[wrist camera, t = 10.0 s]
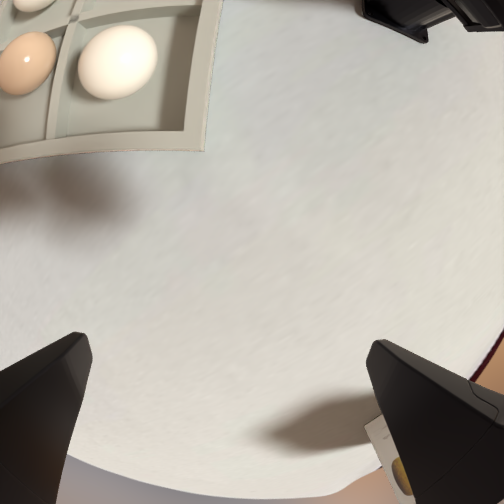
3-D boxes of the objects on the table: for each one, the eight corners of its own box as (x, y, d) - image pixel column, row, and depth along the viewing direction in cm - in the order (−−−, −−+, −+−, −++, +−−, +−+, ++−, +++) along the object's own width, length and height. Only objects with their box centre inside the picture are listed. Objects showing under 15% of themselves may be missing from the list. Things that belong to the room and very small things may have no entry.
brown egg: (31, 65, 12) (51, 17, 9) (54, 95, 14) (77, 44, 11) (-16, 83, 9) (-3, 29, 6) (3, 117, 10) (17, 58, 7)
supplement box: (420, 383, 28) (484, 474, 12) (432, 404, 30) (483, 477, 15) (360, 427, 29) (406, 526, 13) (382, 440, 32) (422, 520, 16)
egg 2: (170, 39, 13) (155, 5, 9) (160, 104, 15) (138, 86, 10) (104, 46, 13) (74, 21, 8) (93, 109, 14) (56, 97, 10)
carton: (236, -62, 10) (239, -82, 8) (204, 151, 17) (200, 149, 14) (32, -21, 8) (19, -31, 5) (-15, 167, 14) (-36, 171, 11)
